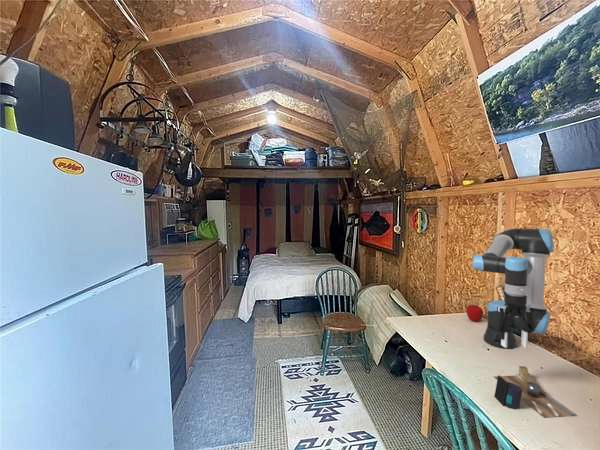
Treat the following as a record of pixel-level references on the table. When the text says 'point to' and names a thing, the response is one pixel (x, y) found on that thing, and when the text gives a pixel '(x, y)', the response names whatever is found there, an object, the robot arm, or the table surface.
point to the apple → (474, 313)
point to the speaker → (508, 393)
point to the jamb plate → (540, 400)
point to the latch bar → (529, 382)
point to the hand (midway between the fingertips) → (514, 346)
